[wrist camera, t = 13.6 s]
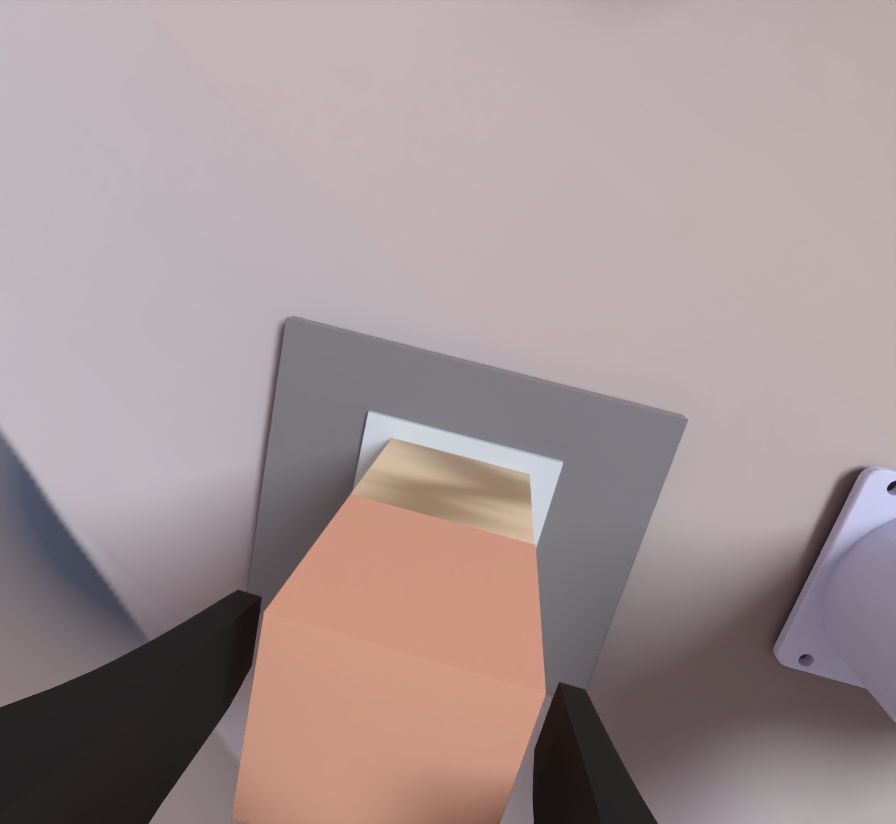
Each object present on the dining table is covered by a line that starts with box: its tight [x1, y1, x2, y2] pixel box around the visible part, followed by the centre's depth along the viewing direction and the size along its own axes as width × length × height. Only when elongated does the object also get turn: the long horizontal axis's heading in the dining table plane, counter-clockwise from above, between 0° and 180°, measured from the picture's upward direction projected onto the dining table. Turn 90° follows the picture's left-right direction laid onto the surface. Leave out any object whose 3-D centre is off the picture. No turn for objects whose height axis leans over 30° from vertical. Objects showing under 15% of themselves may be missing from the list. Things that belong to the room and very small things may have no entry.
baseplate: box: [247, 316, 688, 695], centre depth 20 cm, size 14×12×1 cm
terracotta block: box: [232, 494, 546, 824], centre depth 12 cm, size 5×5×5 cm
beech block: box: [351, 438, 534, 544], centre depth 17 cm, size 5×5×5 cm
